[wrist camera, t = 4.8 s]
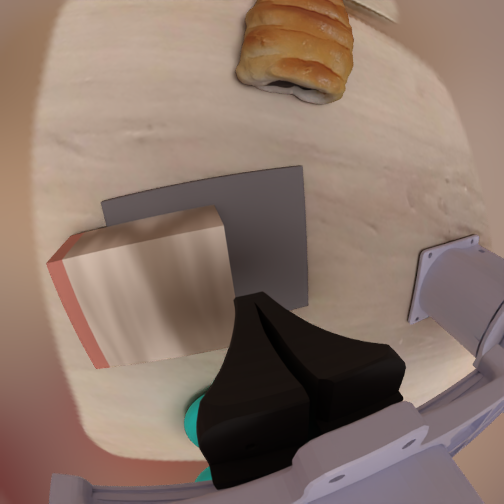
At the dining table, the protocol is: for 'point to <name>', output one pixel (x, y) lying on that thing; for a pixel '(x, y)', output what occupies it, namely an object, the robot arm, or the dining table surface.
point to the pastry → (298, 49)
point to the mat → (242, 226)
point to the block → (148, 288)
